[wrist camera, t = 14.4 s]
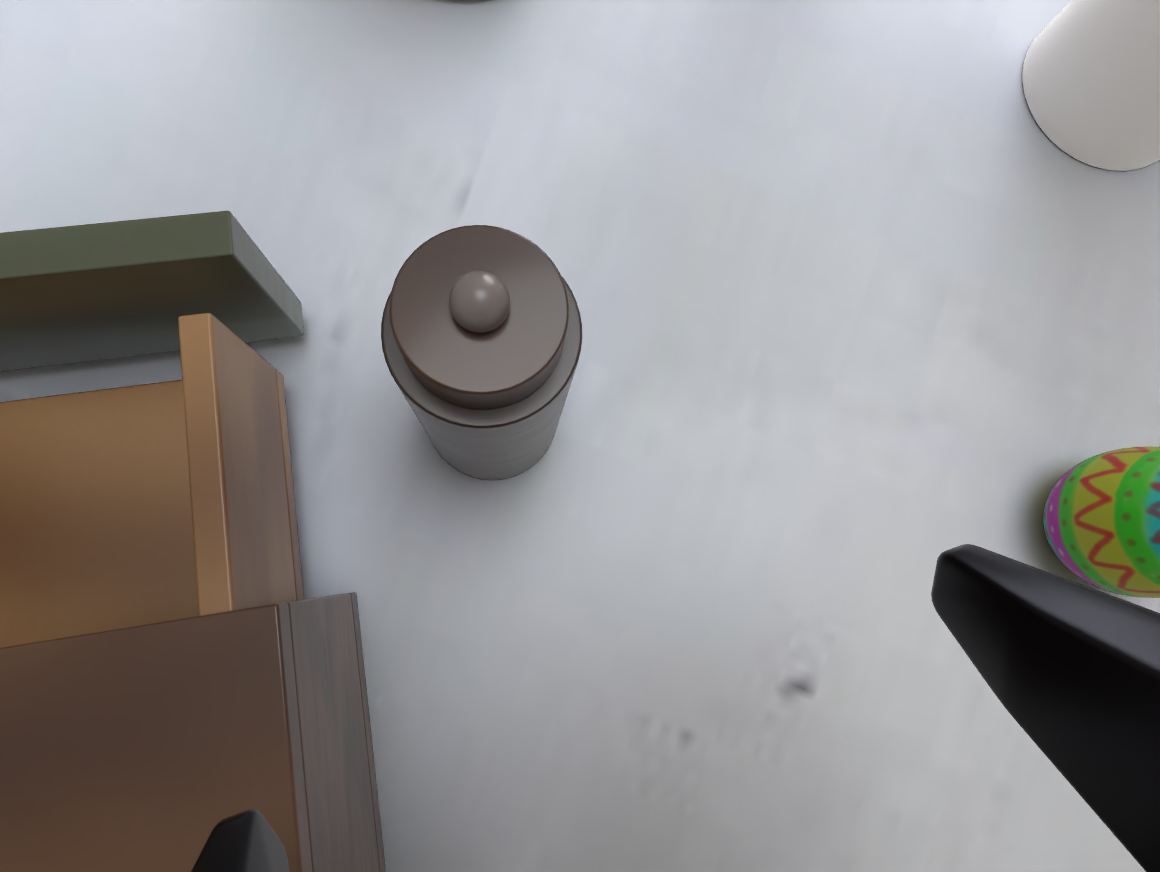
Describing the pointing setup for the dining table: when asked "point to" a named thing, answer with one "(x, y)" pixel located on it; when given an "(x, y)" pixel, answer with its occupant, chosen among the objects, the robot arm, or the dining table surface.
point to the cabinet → (190, 741)
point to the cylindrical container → (1099, 82)
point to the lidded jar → (483, 347)
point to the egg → (1110, 521)
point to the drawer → (144, 429)
